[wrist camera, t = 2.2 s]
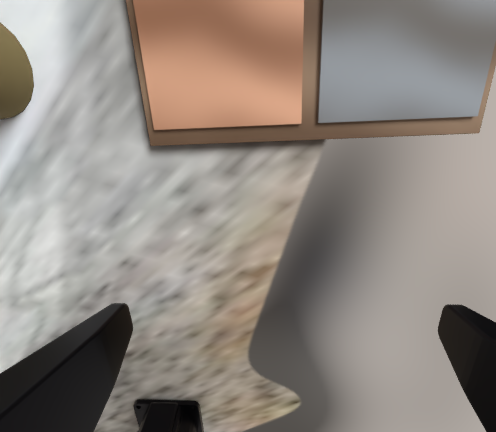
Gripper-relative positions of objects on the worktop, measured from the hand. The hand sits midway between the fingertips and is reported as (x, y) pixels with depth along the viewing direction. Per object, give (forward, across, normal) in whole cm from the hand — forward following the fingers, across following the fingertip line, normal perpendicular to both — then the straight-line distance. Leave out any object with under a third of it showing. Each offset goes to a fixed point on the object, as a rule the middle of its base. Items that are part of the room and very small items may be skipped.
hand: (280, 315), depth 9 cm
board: (+13, -2, -9) cm, 16 cm away
